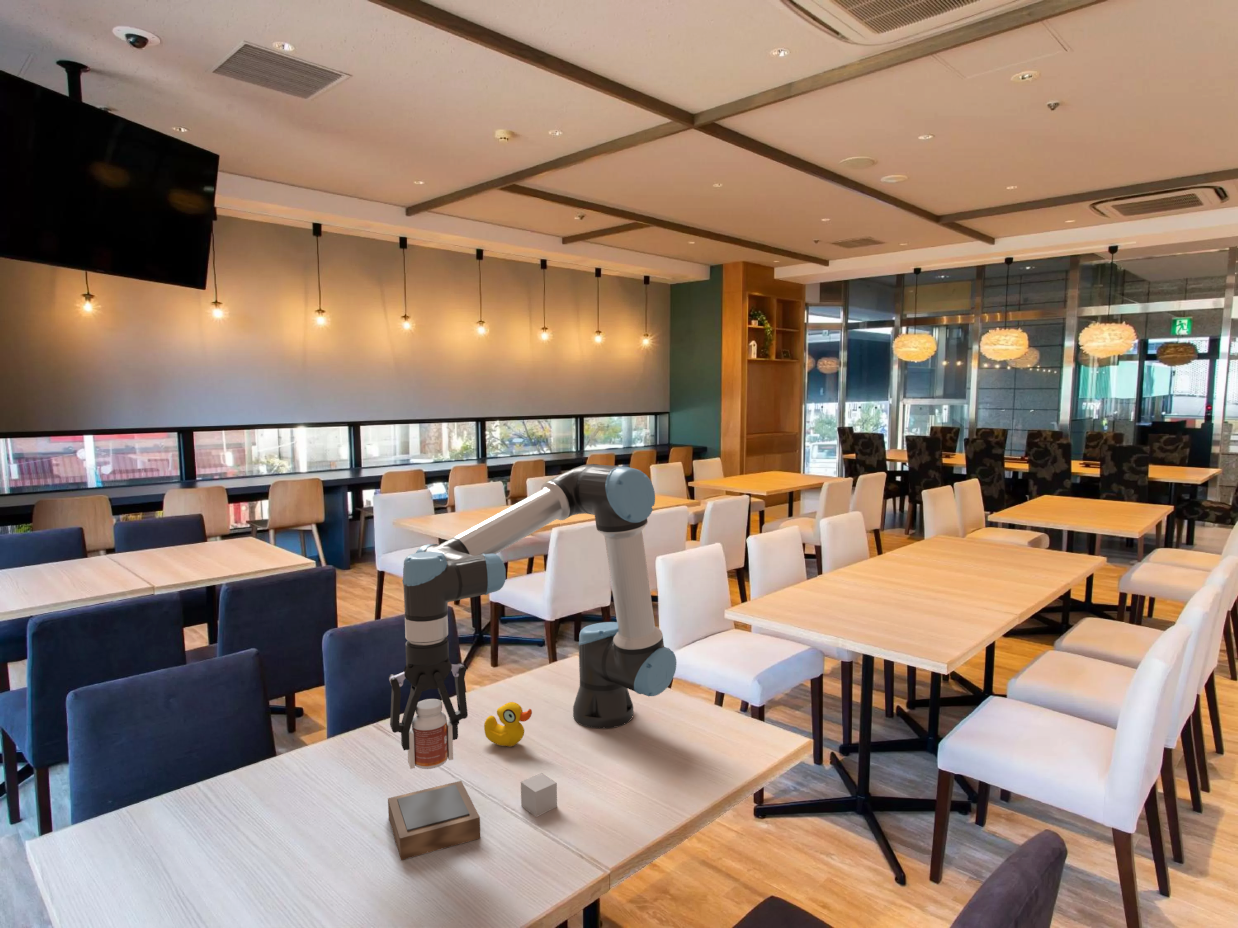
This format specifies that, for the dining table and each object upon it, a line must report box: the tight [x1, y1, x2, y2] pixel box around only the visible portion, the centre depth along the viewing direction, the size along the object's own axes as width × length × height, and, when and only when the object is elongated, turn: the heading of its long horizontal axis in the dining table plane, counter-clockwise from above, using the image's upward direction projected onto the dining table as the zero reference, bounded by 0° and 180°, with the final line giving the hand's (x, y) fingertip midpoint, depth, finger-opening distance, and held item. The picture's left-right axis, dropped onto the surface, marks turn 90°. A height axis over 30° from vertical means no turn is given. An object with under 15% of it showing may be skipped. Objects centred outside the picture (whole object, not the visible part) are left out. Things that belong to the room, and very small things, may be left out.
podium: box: [387, 780, 481, 861], centre depth 133 cm, size 14×14×4 cm
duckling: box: [483, 701, 533, 748], centre depth 165 cm, size 11×5×10 cm, turn 79°
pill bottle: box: [411, 698, 449, 770], centre depth 132 cm, size 6×6×11 cm
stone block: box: [520, 772, 558, 817], centre depth 140 cm, size 5×5×5 cm
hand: (430, 760), depth 132 cm, fingers closed on pill bottle, 6 cm apart
